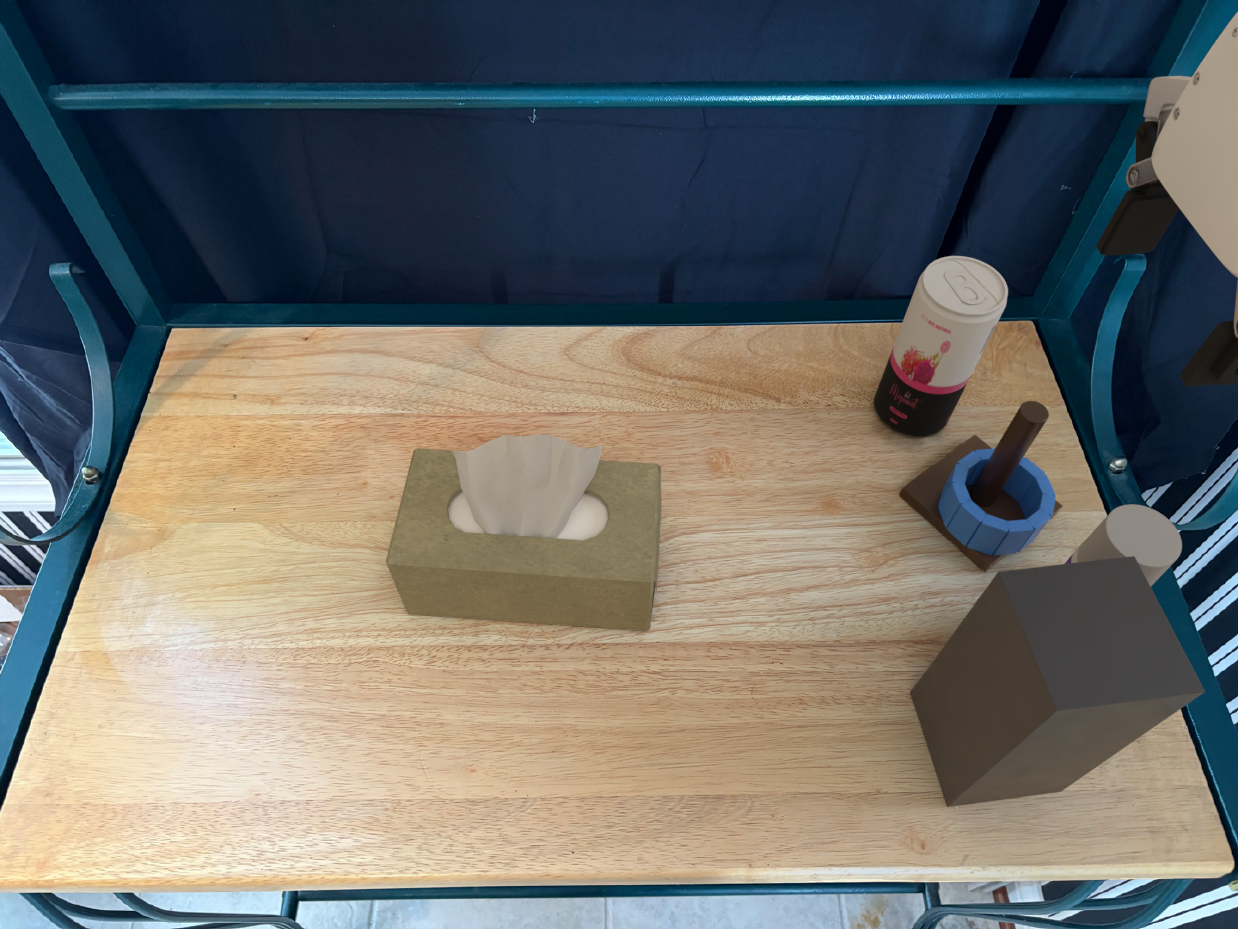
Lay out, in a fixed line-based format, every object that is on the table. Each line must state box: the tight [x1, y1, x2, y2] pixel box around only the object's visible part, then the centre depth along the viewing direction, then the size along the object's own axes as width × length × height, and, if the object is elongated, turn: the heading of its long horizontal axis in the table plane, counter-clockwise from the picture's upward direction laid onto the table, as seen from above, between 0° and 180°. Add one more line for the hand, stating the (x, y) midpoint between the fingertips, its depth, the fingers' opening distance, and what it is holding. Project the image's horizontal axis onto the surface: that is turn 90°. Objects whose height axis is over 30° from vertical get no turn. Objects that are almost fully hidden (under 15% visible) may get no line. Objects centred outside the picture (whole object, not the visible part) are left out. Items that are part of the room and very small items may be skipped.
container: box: [1064, 503, 1183, 588], centre depth 61 cm, size 5×5×15 cm
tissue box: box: [385, 433, 662, 632], centre depth 64 cm, size 19×10×16 cm, turn 86°
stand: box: [898, 400, 1063, 573], centre depth 69 cm, size 9×9×12 cm
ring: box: [938, 447, 1057, 556], centre depth 71 cm, size 8×8×4 cm
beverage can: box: [873, 255, 1009, 438], centre depth 74 cm, size 7×7×15 cm
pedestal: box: [909, 556, 1206, 808], centre depth 56 cm, size 8×8×18 cm
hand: (1163, 311), depth 48 cm, fingers open, 9 cm apart
